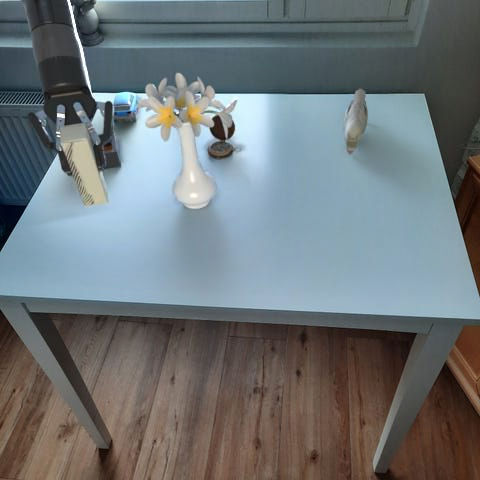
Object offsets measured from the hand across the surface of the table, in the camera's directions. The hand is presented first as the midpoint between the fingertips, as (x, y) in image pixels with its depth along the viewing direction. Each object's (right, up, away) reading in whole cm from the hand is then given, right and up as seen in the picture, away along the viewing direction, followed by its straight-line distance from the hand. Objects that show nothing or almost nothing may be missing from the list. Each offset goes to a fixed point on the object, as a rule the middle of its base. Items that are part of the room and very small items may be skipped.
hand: (85, 172), depth 78 cm
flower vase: (+17, +2, +24) cm, 29 cm away
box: (0, -3, +7) cm, 7 cm away
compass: (+22, +16, +34) cm, 44 cm away
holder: (-7, +14, +34) cm, 38 cm away
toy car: (-4, +29, +46) cm, 55 cm away
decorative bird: (+53, +20, +36) cm, 67 cm away
